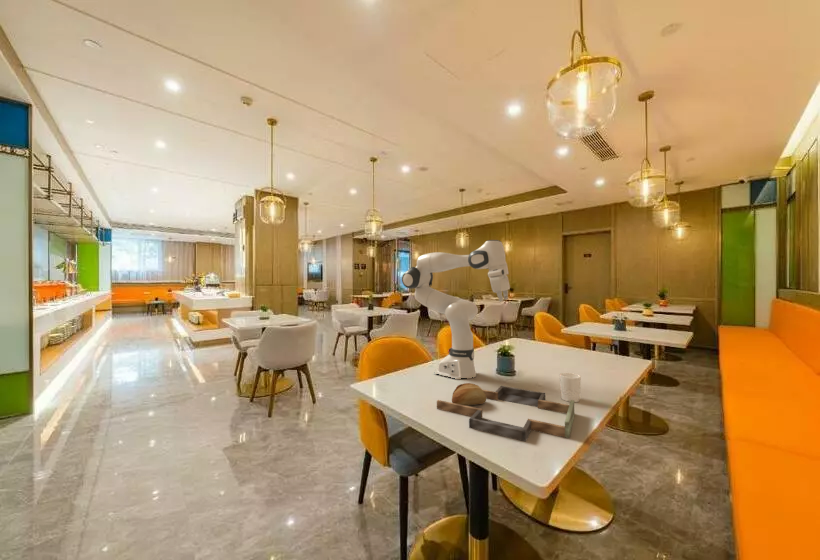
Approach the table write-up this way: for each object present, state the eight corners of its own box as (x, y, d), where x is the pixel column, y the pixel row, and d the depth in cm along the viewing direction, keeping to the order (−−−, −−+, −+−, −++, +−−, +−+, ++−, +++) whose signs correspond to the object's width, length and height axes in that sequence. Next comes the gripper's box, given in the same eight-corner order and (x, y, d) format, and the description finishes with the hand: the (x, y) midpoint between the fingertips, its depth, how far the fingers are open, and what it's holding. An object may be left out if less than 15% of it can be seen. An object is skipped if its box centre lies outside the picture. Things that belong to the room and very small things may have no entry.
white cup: (576, 396, 136) (575, 372, 136) (584, 403, 129) (584, 378, 129) (557, 395, 137) (556, 372, 137) (564, 402, 129) (563, 378, 129)
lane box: (425, 417, 117) (425, 403, 117) (465, 386, 150) (465, 375, 150) (566, 451, 93) (566, 434, 93) (576, 405, 126) (576, 393, 126)
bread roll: (446, 402, 131) (446, 383, 131) (478, 397, 136) (477, 379, 136) (458, 411, 122) (457, 390, 122) (491, 405, 127) (490, 385, 127)
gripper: (497, 273, 164) (502, 299, 164) (486, 273, 147) (491, 303, 146) (510, 270, 161) (515, 297, 161) (500, 271, 144) (505, 301, 143)
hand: (503, 300), depth 153 cm, fingers open, 8 cm apart
